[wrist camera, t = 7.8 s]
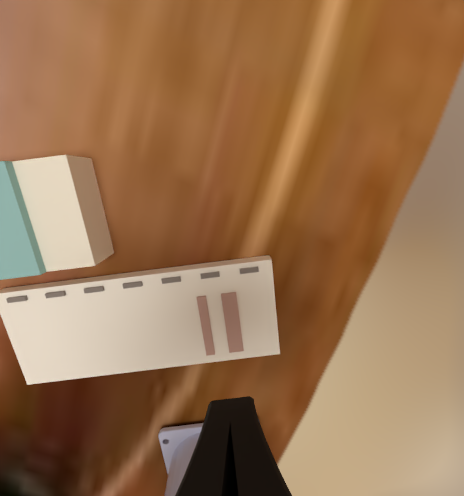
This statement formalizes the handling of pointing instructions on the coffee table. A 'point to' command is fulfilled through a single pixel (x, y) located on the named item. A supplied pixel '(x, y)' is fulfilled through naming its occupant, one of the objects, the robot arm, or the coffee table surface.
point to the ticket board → (143, 320)
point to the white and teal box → (50, 216)
